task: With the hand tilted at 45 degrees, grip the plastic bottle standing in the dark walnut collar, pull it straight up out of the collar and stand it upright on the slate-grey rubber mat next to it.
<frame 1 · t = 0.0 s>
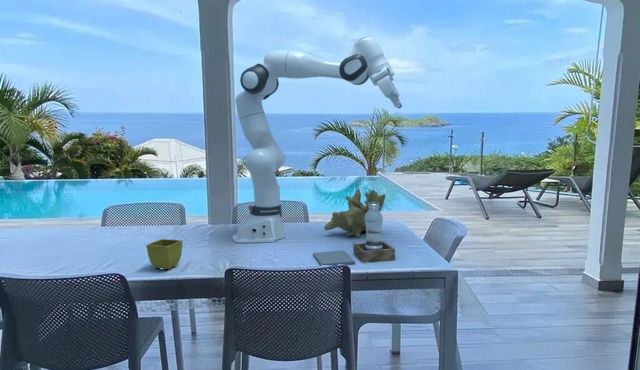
hand: (399, 107, 170), 54 cm above the table, tool tilted 30°, fingers open, 8 cm apart
rubber mat: (333, 259, 159), on the table
plastic bottle: (373, 257, 161), resting in walnut collar
flower pot: (166, 268, 153), on the table
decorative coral: (355, 234, 195), on the table
walnut collar: (373, 257, 161), on the table
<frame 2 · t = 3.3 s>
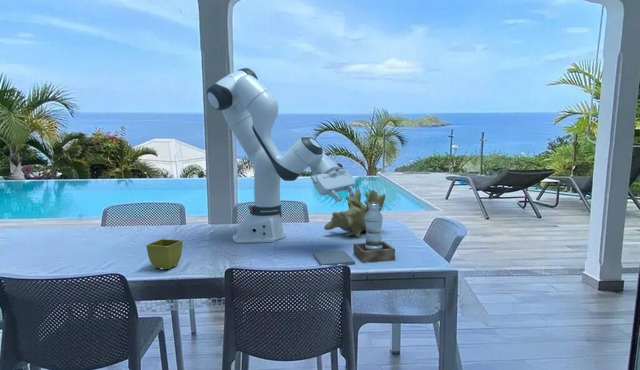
hand: (347, 198, 165), 21 cm above the table, tool tilted 45°, fingers open, 8 cm apart
nothing on the table moved.
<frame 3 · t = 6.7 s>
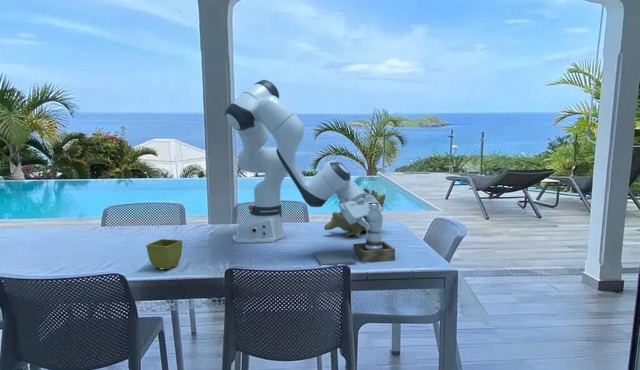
hand: (375, 226, 159), 11 cm above the table, tool tilted 45°, fingers closed on plastic bottle, 6 cm apart
plastic bottle: (373, 257, 161), resting in walnut collar, touching gripper
everything else where it was.
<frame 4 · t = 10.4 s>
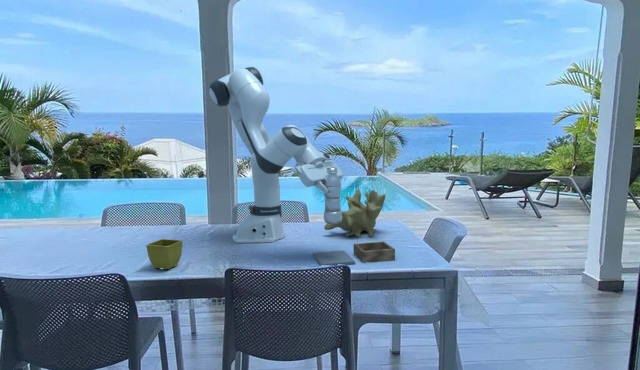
hand: (333, 191, 155), 25 cm above the table, tool tilted 45°, fingers closed on plastic bottle, 6 cm apart
plastic bottle: (333, 224, 157), point 13 cm above the table, touching gripper
everything else where it was.
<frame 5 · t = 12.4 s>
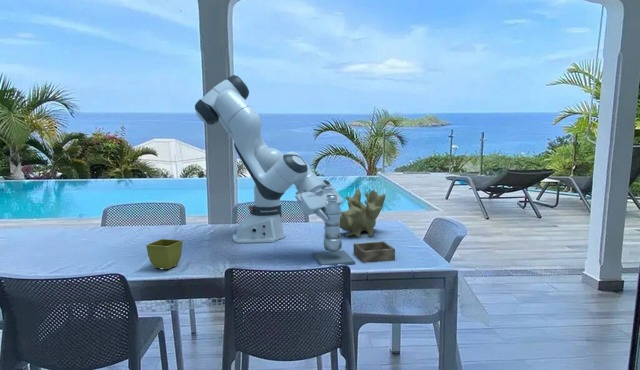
hand: (333, 218, 156), 15 cm above the table, tool tilted 45°, fingers closed on plastic bottle, 6 cm apart
plastic bottle: (332, 251, 158), point 3 cm above the table, touching gripper
everything else where it was.
when the fingers open (14 cm above the table, at t = 13.9 s): plastic bottle moves 2 cm, resting on rubber mat.
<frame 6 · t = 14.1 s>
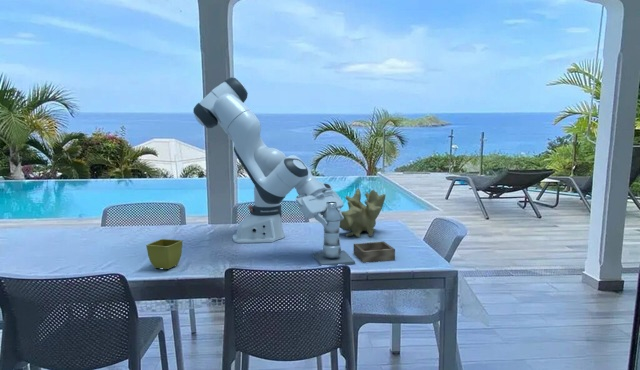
hand: (334, 222, 156), 14 cm above the table, tool tilted 45°, fingers open, 8 cm apart
plastic bottle: (331, 258, 158), point 1 cm above the table, touching gripper, rubber mat
everything else where it was.
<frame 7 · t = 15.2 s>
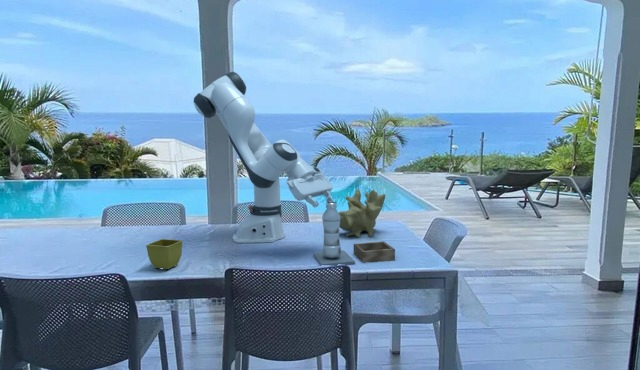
hand: (324, 204, 160), 20 cm above the table, tool tilted 45°, fingers open, 8 cm apart
plastic bottle: (331, 258, 158), point 1 cm above the table, touching rubber mat
everything else where it was.
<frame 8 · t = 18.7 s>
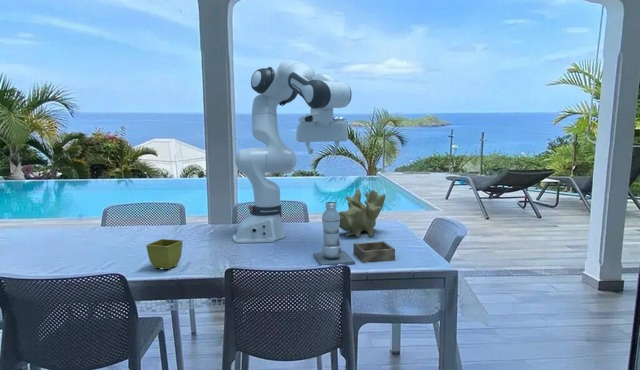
hand: (322, 153, 172), 37 cm above the table, tool pointing down, fingers open, 8 cm apart
nothing on the table moved.
at the end: plastic bottle inside the target area on the rubber mat (1.2 cm from its centre), point 0.8 cm above the rubber mat's base; plastic bottle tilted 0°; the gripper is holding nothing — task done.
